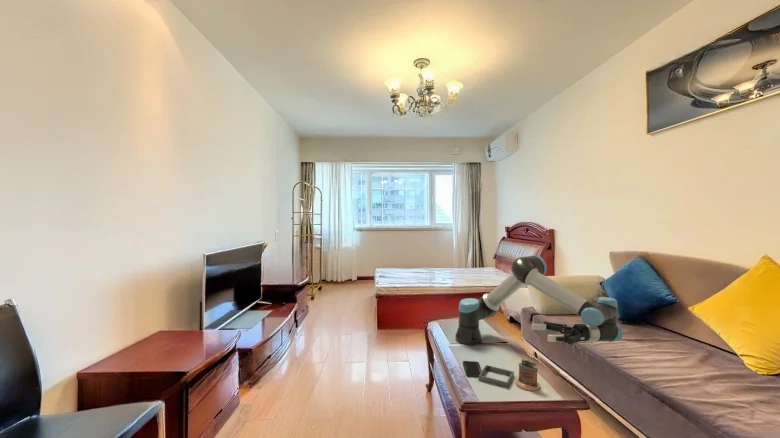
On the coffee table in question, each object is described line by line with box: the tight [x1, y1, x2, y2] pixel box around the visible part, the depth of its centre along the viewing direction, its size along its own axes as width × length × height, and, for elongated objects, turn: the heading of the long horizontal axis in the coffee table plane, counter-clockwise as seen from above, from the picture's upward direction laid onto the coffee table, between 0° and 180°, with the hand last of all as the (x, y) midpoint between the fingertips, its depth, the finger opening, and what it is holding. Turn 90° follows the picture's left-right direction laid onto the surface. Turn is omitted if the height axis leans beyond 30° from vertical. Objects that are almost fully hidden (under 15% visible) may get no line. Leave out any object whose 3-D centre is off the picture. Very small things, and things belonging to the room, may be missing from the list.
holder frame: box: [478, 364, 515, 389], centre depth 150 cm, size 13×13×2 cm
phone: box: [462, 360, 483, 379], centre depth 158 cm, size 8×1×15 cm
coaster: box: [514, 377, 541, 392], centre depth 145 cm, size 10×10×1 cm
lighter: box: [518, 358, 539, 387], centre depth 145 cm, size 8×3×10 cm, turn 45°
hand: (539, 332), depth 149 cm, fingers open, 13 cm apart
